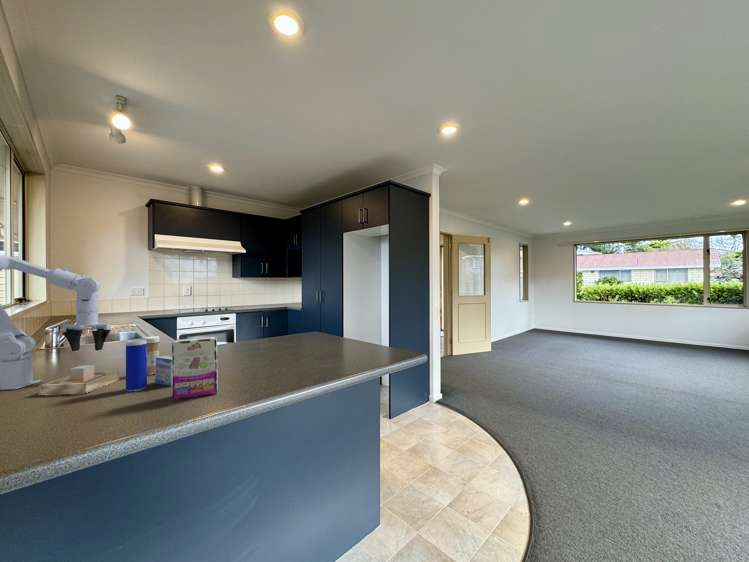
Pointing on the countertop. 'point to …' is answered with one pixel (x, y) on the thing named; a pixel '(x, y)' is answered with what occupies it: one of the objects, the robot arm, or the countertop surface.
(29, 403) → the countertop surface
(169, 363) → the medicine box
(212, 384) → the candy bar box
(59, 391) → the walled box
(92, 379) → the frame
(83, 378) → the tan-topped block
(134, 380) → the beverage can
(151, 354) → the sprinkles bottle
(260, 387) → the countertop surface
